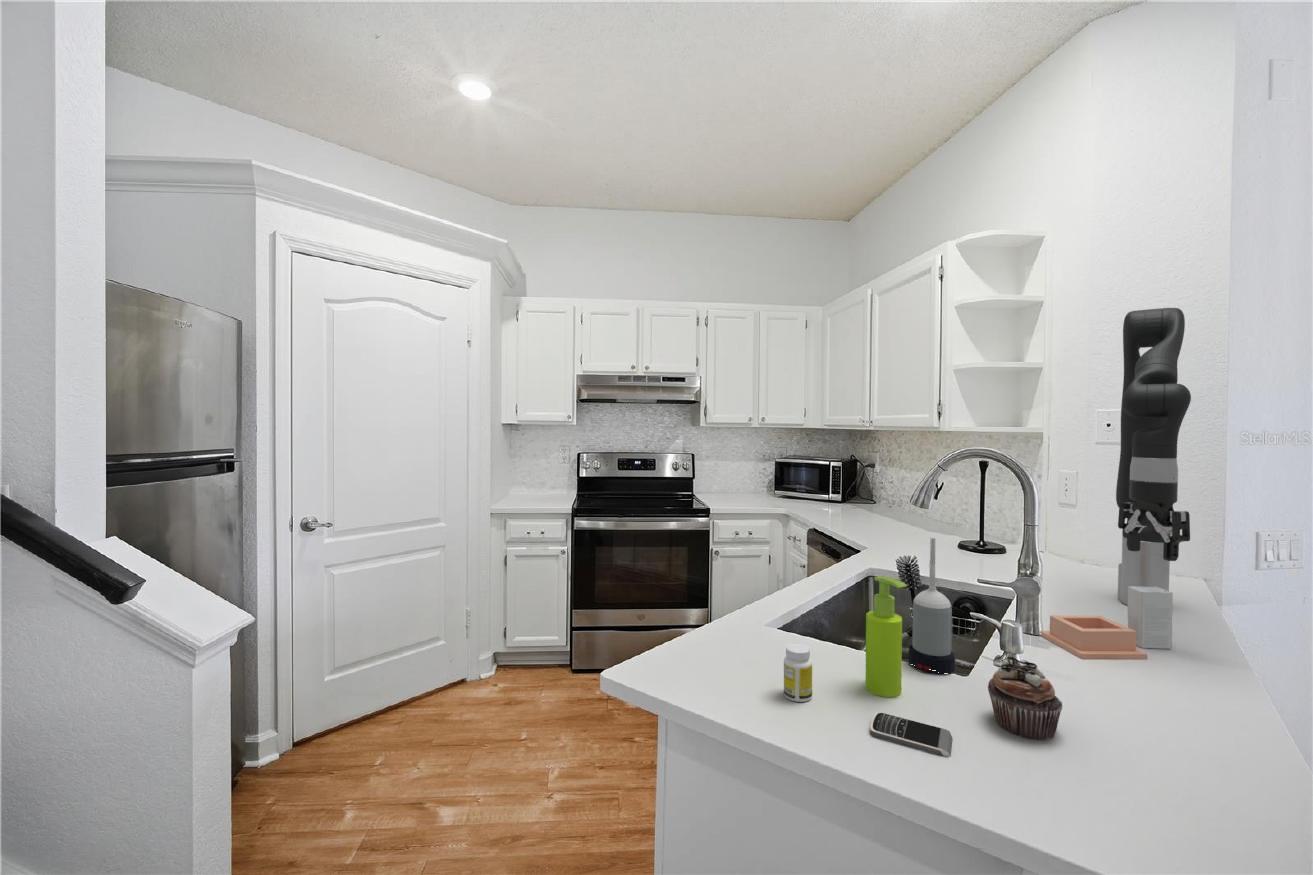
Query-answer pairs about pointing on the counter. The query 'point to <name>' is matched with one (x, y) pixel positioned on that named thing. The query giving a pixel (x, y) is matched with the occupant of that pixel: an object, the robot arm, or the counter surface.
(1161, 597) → the skincare box
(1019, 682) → the cupcake
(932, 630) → the grey toilet brush
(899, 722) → the cell phone
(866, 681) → the soap dispenser
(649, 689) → the counter surface
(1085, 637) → the tan open box
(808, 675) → the supplement bottle
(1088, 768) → the counter surface
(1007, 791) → the counter surface
